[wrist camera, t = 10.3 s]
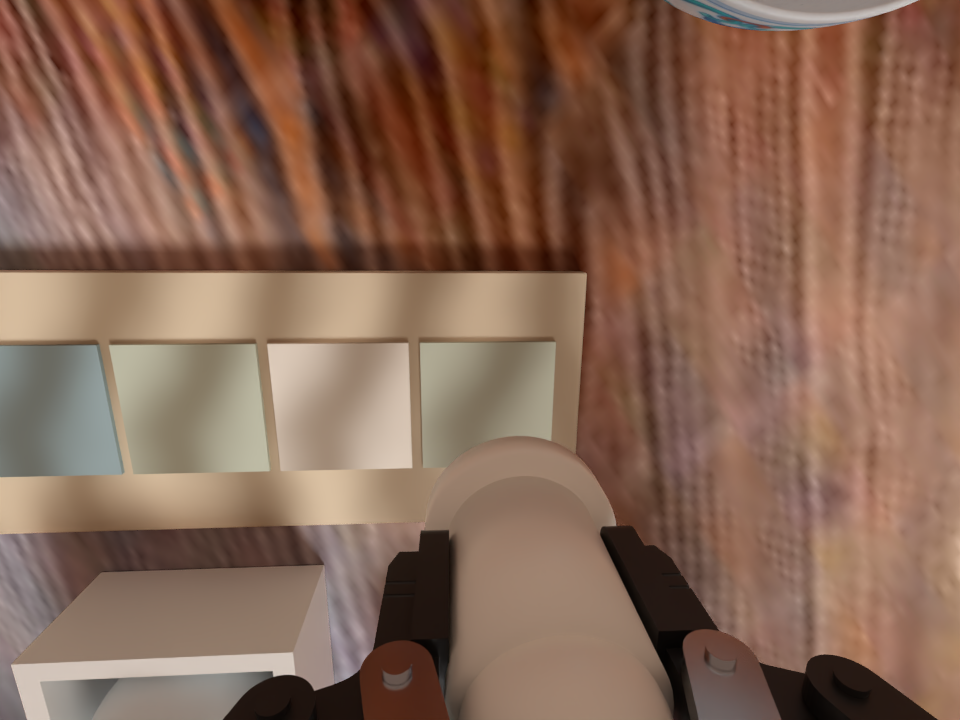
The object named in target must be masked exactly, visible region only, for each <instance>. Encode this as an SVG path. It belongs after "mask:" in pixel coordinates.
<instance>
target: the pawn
mask: <svg viewBox="0 0 960 720" xmlns="http://www.w3.org/2000/svg"><path fill="white" fill-rule="evenodd" d="M603 526H616V519H615V516H614V513H613V509H612V507H611V505H610V503H609V500H608V498H607V497H606V495H605V493H604V491H603V490H602V488H601V486H600V484H599V483H598V481H597V479H596V477H595V476H594V474H593V473H592V471H591V470H590V468H589V467H588V466H587V465H586V464H585V463H584V462H583V460H582V459H580V458H579V457H578V456H577V455H576V454H574V453H573V452H572V451H570V450H568V449H567V448H565V447H563V446H561V445H559V444H557V443H555V442H552V441H549V440H546V439H542V438H537V437H531V436H509V437H502V438H497V439H493V440H490V441H487V442H484V443H481V444H479V445H477V446H475V447H473V448H471V449H469V450H468V451H466V452H464V453H463V454H461V455H460V456H459V457H458V458H456V459H455V460H454V461H453V462H452V463H451V464H450V465H449V466H448V467H447V468H446V469H445V470H444V471H443V473H442V474H441V475H440V477H439V478H438V480H437V481H436V483H435V485H434V487H433V489H432V492H431V494H430V497H429V500H428V505H427V509H426V520H425V530H449V663H448V666H447V670H446V675H445V686H444V701H445V704H446V708H447V712H448V715H449V719H450V720H674V719H673V710H674V698H673V690H672V687H671V683H670V680H669V677H668V675H667V673H666V671H665V669H664V667H663V665H662V663H661V661H660V659H659V657H658V654H657V652H656V650H655V648H654V646H653V644H652V642H651V640H650V638H649V636H648V634H647V632H646V630H645V627H644V625H643V623H642V621H641V619H640V617H639V615H638V613H637V611H636V609H635V607H634V605H633V603H632V601H631V598H630V596H629V594H628V592H627V590H626V588H625V586H624V584H623V582H622V580H621V578H620V576H619V574H618V571H617V569H616V567H615V565H614V563H613V561H612V559H611V557H610V555H609V553H608V551H607V549H606V547H605V544H604V542H603V540H602V538H601V536H600V530H601V528H602V527H603Z"/></svg>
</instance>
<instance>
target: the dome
mask: <svg viewBox="0 0 960 720" xmlns="http://www.w3.org/2000/svg"><path fill="white" fill-rule="evenodd" d="M271 677H273V671H261V672H239V673H217V674H195V675H173V676H151V677H129V678H120V679H119V680H118V681H117V682H116V683H115V684H114V686H113V687H112V688H111V689H110V691H109V692H108V693H107V694H106V696H105V698H104V699H103V701H102V702H101V704H100V706H99V707H98V709H97V710H96V712H95V714H94V716H93V718H92V720H223V719H224V717H225V716H226V715H227V714H228V713H229V711H230V710H231V709H232V708H233V707H234V705H235V704H236V703H237V702H238V701H239V699H240V698H241V697H242V696H243V695H244V694H245V693H246V692H247V691H248V690H249V689H251V688H252V687H254V686H255V685H256V684H258V683H260V682H262V681H264V680H266V679H269V678H271Z"/></svg>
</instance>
